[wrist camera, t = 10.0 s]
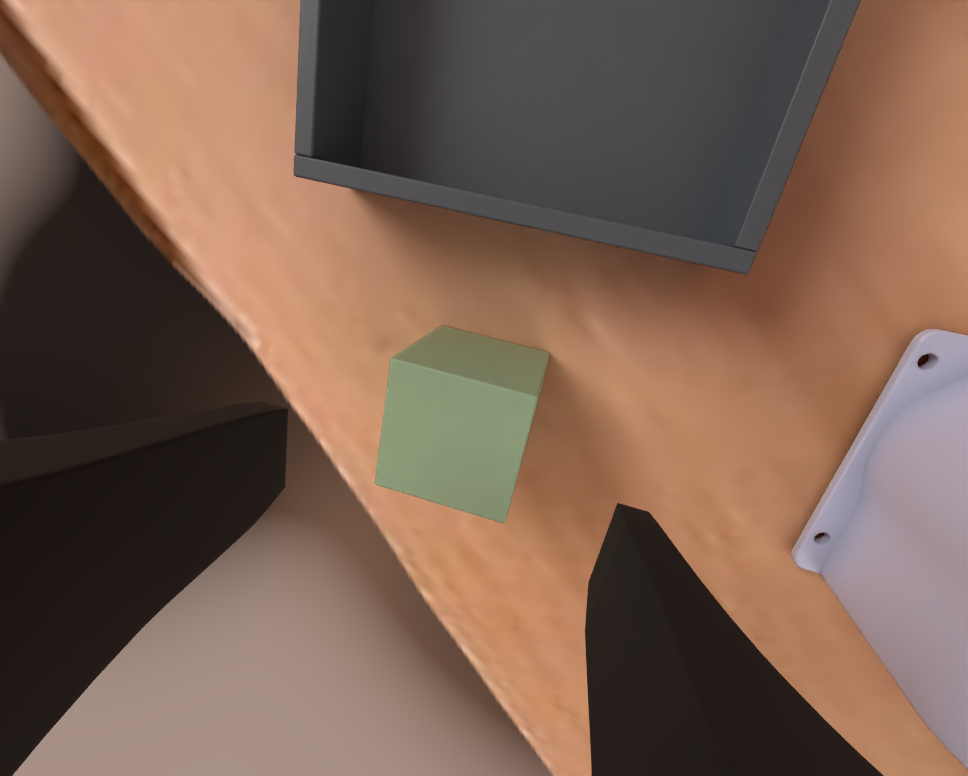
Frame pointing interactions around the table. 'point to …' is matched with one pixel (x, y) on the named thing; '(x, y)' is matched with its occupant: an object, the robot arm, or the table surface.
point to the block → (459, 420)
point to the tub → (571, 111)
